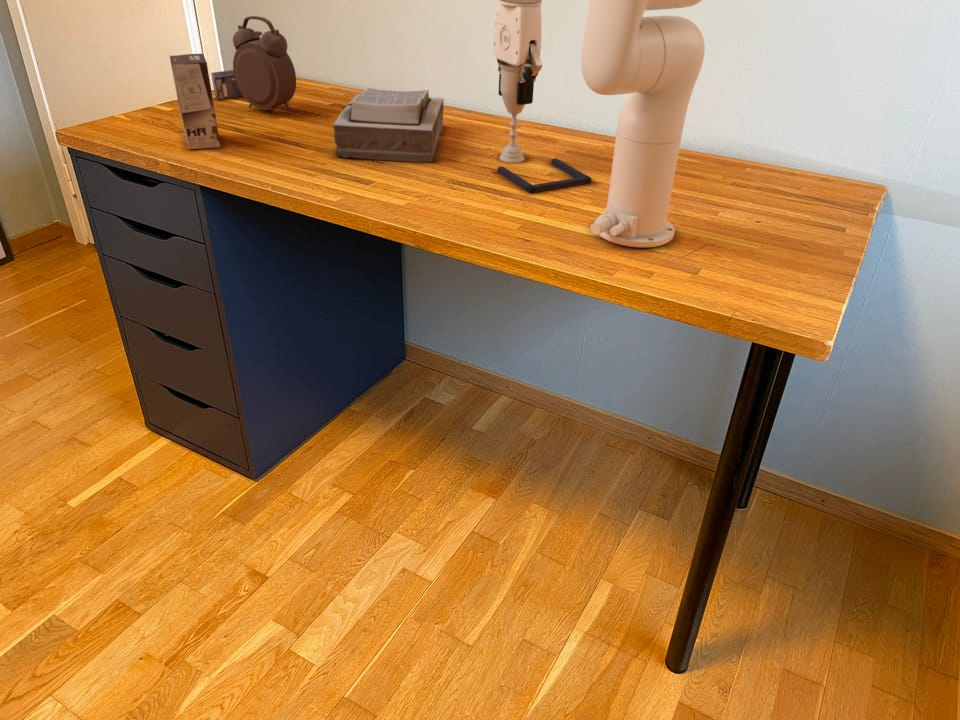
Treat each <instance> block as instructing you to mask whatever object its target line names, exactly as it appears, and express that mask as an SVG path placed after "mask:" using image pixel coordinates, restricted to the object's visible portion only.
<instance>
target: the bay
mask: <svg viewBox="0 0 960 720" xmlns="http://www.w3.org/2000/svg"><path fill="white" fill-rule="evenodd" d="M550 160H551V161H550V164H551V165H552V166H553V167H554V168H555V167H556V168H557V169H558V170H560V171H562V172H564V173H566V174H568V176H569V175H570V176H571V177H572V178H568V179H567V178H566V179H561V180H555V181H549V182H542V183H536V184H532V183H530V182H529V181H527V180H525V179H523V178H522V177H521V176H519V175H517V174H516V173H514V172H512V171H511V170H510V169H507V167H504V166H497V173H498V174H500V175H501V176H503V177H504V178H505V179H507V180H508V181H510V182H511V183H513V184H515V185H516V186H518V187H520V189H523V190H524V191H525V192H527V193H528V194H534V193H535V194H536V193H540V192H547V191H551V190H552V191H553V190H558V189H564V188H570V187H576V186H582V185H588V184H592V177H591V176H589V175H588V174H586V173H584V172H582V171H580V170H578V169H577V168H575V167H573V166H571V165H569V164H567V163H566V162H564V161H562V160H560V159H558V158H551V159H550Z"/></svg>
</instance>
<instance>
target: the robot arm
mask: <svg viewBox="0 0 960 720" xmlns="http://www.w3.org/2000/svg"><path fill="white" fill-rule="evenodd" d="M702 1H703V0H589V4H588V11H587V17H586V22H585V28H584V34H583V38H582V39H583V40H582V45H581V46H582V47H581V60H580V63H581V65H580V66H581V73H582V77H583V80H584V82H585V84H586V85H587V87H588V88H589V89H590V90H591V91H592V92H594V93H596V94H598V95H602V96H618V95H627V94H628V96H627V97H626V99H625V101H624V103H623V105H622V107H621V110H620V112H619V115H618V120H617V126H616V134H615V141H614V150H613V157H612V164H611V172H610V180H609V188H608V196H607V203H606V207H605V208H604V213H602V214H599V216H597V217H596V219H595V220H594V222H592V223H591V224H590V227H589V230H590V233H591V234H592V235H594V236H599V237H601V238H602V239H603V240H606V241H607V242H610V243H613V244H615V245H620V246H623V247H629V248H638V249H639V248H645V249H646V248H655V247H660V246H663V245H667V244H668V243H670V242H671V241H672V240H673V238H674V237H675V231H676V229H675V227H674V225H673V224H672V223H671V222H670V221H669V220H668V214H669V209H670V202H671V197H672V192H673V187H674V180H675V175H676V171H677V170H676V169H677V164H678V159H679V153H680V148H681V143H682V137H683V133H684V127H685V122H686V118H687V117H686V116H687V112H688V108H689V104H690V100H691V97H692V95H693V94H692V93H693V91H694V89H695V86H696V83H697V81H698V78H699V75H700V72H701V71H702V67H703V63H704V60H705V48H706V47H705V40H704V36H703V34H702V31H701V30H700V28H699V26H698V25H697V24H695V22H693V21H692V20H690V19H688V18H686V17H682V16H679V15H656V16H655V15H654V16H644V13H645V12H646V11H657V10H673V9H683V8H688V7H693V6H696V5H698V4H699V3H701V2H702ZM542 3H543V0H499V1H498V5H497V9H496V14H495V15H496V16H495V23H494V31H493V32H494V33H493V46H492V47H493V48H492V54H493V57H495V58H496V61H497V63H498V68H497V73H499V74H498V96H500V97H502V94H501V90H500V87H501V67H500V64H499V61H503V63H507V64H510V65H512V66H515V67H520V69H519V77H520V82H518V85H517V104H518V105H524V104H525V105H531V104H533V103H534V102H533V101H534V87H535V82H536V81H537V77H538V75H539V72H541V70H542V68H543V63H542V60H541V53H542V51H541V50H542V27H543V26H542V8H541V7H542ZM525 62H527V63H528V64H524V63H525ZM527 67H530V69H528V70H527V72H526V73H525V71H524V68H527Z"/></svg>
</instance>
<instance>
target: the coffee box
mask: <svg viewBox="0 0 960 720" xmlns="http://www.w3.org/2000/svg"><path fill="white" fill-rule="evenodd" d="M169 61H170V66H171V72H172V76H173V77H172V78H173V83H174V86H175V87H174V88H175V92H176V93H175V94H176V97H177V103H178V107H179V113H180V119H181V123H182V126H183V133H184V136H185V140H186V145H187V149H188V150H198V149H199V150H201V149H213V148H220V147H221V141H220V134H219V129H218V122H217V116H216V110H215V103H214V98H213V91H212V86H211V80H210V74H209V68H208V62H207V59H206V58H205V55H204V53H186V54H179V55H178V54H177V55H176V54H175V55H169Z"/></svg>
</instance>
